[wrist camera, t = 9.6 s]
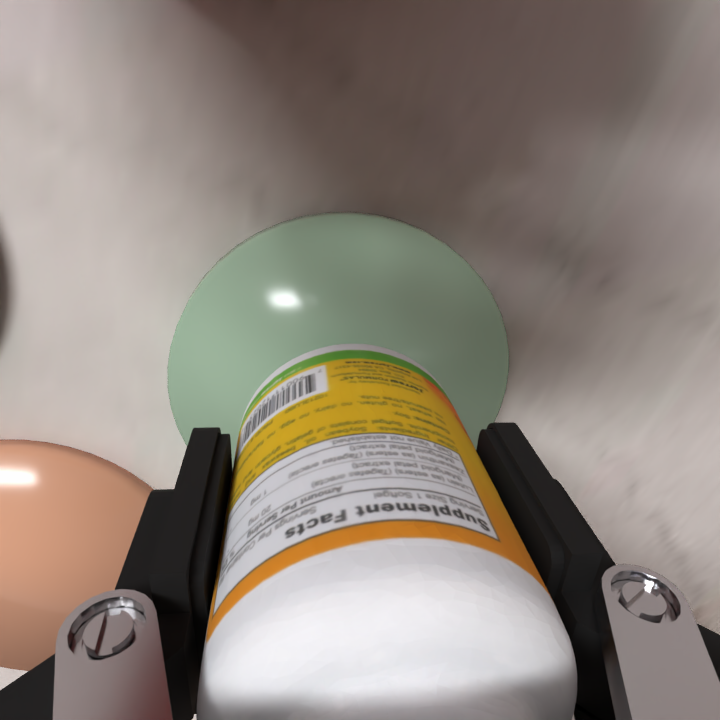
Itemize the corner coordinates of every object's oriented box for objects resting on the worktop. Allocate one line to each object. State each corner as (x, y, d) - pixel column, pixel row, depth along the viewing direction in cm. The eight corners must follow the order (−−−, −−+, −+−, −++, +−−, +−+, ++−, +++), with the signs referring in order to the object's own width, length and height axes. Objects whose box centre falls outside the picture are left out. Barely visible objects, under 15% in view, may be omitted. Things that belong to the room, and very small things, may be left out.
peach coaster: (114, 402, 16) (106, 417, 15) (234, 615, 21) (232, 634, 20) (-198, 485, 16) (-220, 504, 16) (-11, 676, 21) (-22, 696, 20)
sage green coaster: (428, 141, 14) (437, 144, 13) (537, 425, 18) (547, 438, 18) (98, 315, 15) (89, 326, 14) (279, 545, 19) (279, 562, 19)
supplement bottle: (424, 521, 15) (593, 1077, 7) (231, 509, 14) (135, 1136, 6) (476, 351, 13) (830, 855, 4) (250, 323, 12) (141, 892, 3)
